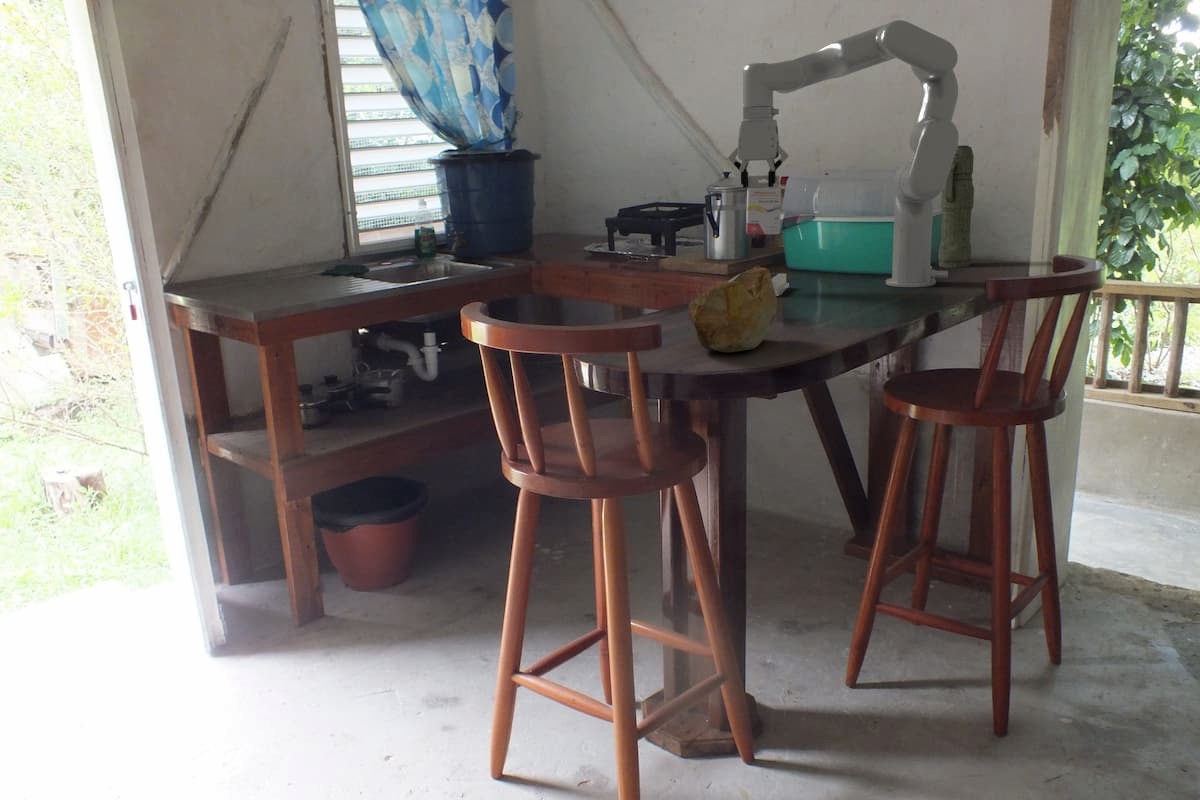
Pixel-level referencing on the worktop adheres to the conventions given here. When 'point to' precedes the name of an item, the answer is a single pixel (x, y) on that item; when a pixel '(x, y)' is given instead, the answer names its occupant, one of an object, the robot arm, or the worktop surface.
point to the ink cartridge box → (763, 206)
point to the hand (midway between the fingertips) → (758, 186)
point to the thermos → (957, 211)
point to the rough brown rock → (735, 312)
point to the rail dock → (775, 283)
